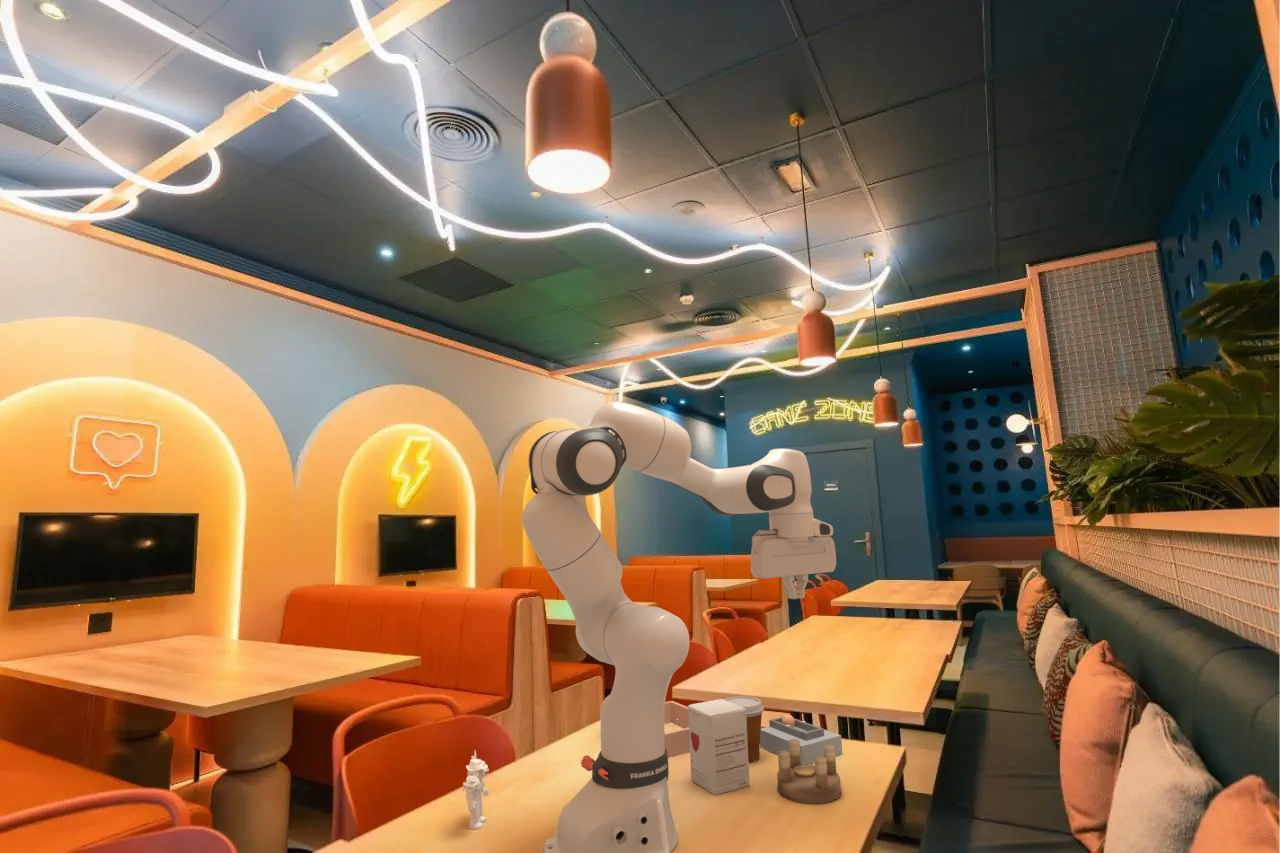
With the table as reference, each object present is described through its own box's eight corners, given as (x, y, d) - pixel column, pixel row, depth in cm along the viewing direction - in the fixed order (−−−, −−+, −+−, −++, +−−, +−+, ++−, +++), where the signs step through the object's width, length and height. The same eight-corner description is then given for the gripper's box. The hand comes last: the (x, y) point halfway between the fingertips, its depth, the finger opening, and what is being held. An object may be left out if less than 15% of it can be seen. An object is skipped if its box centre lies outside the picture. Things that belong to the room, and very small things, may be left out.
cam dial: (854, 797, 122) (851, 755, 123) (797, 807, 118) (794, 764, 119) (820, 774, 133) (817, 735, 134) (766, 782, 130) (764, 743, 131)
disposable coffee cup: (766, 766, 139) (762, 708, 140) (722, 764, 140) (719, 707, 142) (766, 750, 148) (763, 696, 150) (725, 749, 150) (722, 695, 151)
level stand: (802, 766, 138) (801, 738, 139) (760, 747, 150) (758, 721, 151) (842, 754, 144) (840, 727, 145) (798, 737, 156) (796, 712, 157)
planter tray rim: (647, 762, 143) (646, 738, 144) (603, 735, 162) (602, 714, 163) (723, 743, 154) (722, 721, 154) (673, 720, 172) (672, 700, 173)
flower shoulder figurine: (472, 813, 121) (473, 745, 123) (493, 812, 121) (493, 745, 123) (458, 836, 112) (458, 763, 114) (480, 836, 112) (480, 762, 114)
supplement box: (689, 780, 133) (686, 704, 135) (725, 771, 137) (721, 697, 139) (714, 796, 125) (710, 715, 127) (751, 786, 129) (747, 707, 131)
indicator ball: (788, 731, 149) (787, 717, 149) (779, 727, 151) (778, 714, 152) (797, 728, 150) (797, 715, 151) (789, 725, 153) (788, 712, 153)
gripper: (762, 530, 122) (767, 604, 120) (838, 526, 133) (844, 595, 131) (741, 530, 128) (745, 601, 126) (816, 526, 138) (821, 592, 136)
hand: (796, 598), depth 128 cm, fingers closed
